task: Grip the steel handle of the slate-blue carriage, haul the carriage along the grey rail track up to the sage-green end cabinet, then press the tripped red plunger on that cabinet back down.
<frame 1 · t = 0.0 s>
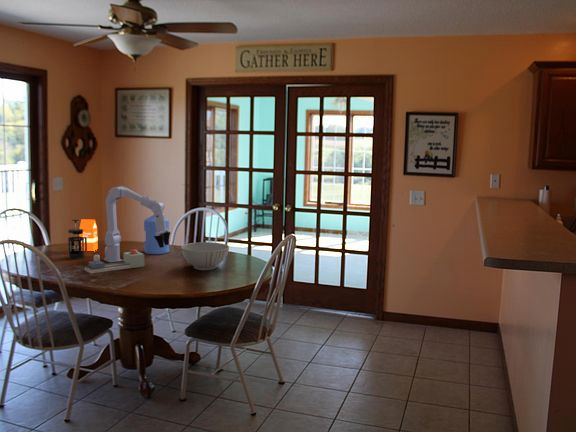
hand: (164, 246, 324), 11 cm above the table, tool pointing down, fingers open, 7 cm apart
orange juice: (88, 250, 358), on the table
french press: (77, 257, 337), on the table
reset plunger: (133, 253, 319), point 7 cm above the table, slide at 0.0 cm
track: (116, 267, 314), on the table
carriage: (96, 260, 306), point 6 cm above the table, slide at 0.0 cm
water jug: (156, 252, 358), on the table
decorative bowl: (205, 267, 319), on the table
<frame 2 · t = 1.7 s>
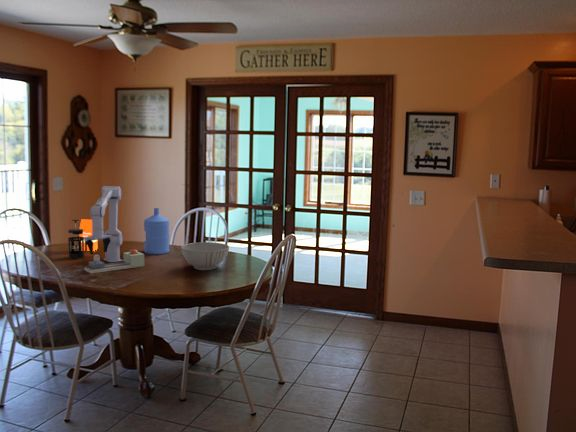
hand: (98, 252, 305), 10 cm above the table, tool pointing down, fingers open, 7 cm apart
nothing on the table moved.
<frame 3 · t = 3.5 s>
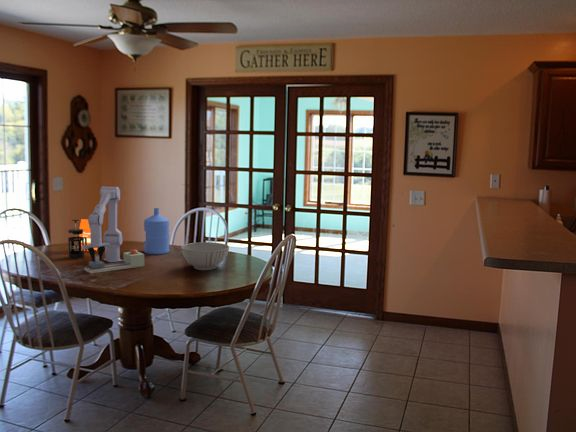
hand: (96, 260, 306), 5 cm above the table, tool pointing down, fingers closed on carriage, 3 cm apart
carriage: (96, 260, 306), point 6 cm above the table, slide at 0.0 cm, touching gripper
everything else where it was.
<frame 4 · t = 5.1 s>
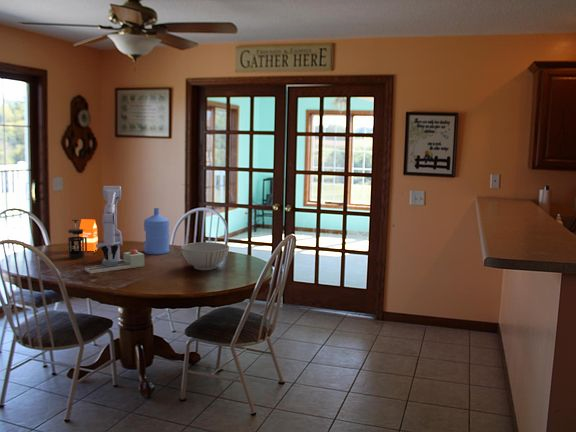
hand: (109, 259, 311), 5 cm above the table, tool pointing down, fingers closed on carriage, 3 cm apart
carriage: (109, 259, 311), point 6 cm above the table, slide at 7.4 cm, touching gripper
everything else where it was.
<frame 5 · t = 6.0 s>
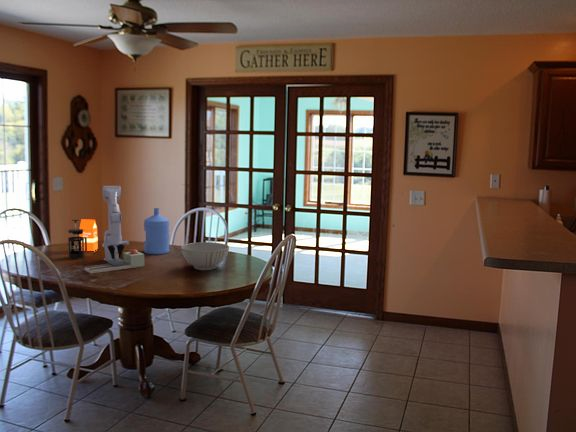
hand: (116, 258, 313), 5 cm above the table, tool pointing down, fingers closed on carriage, 3 cm apart
carriage: (116, 258, 313), point 6 cm above the table, slide at 11.0 cm, touching gripper
everything else where it was.
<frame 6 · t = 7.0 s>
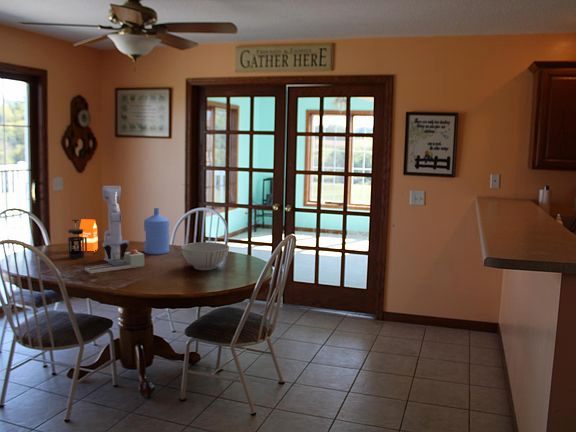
hand: (116, 257, 313), 6 cm above the table, tool pointing down, fingers open, 7 cm apart
carriage: (116, 258, 313), point 6 cm above the table, slide at 11.0 cm
everything else where it was.
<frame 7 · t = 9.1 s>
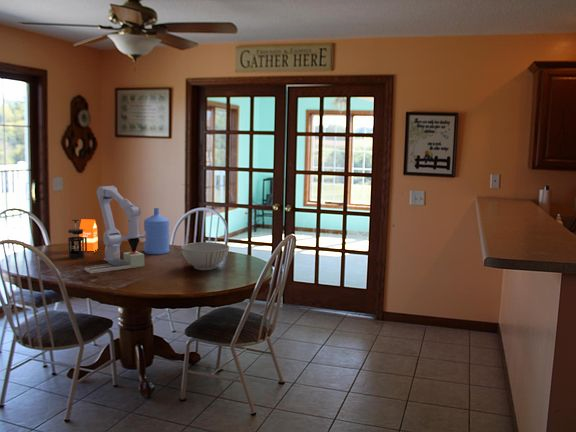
hand: (133, 251, 319), 8 cm above the table, tool pointing down, fingers closed, pressing on reset plunger
reset plunger: (133, 254, 319), point 6 cm above the table, slide at 0.8 cm, touching gripper
everything else where it was.
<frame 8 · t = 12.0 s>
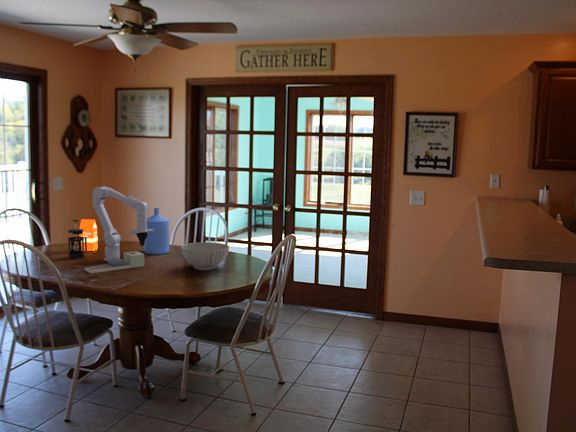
hand: (142, 245, 327), 10 cm above the table, tool pointing down, fingers closed
reset plunger: (133, 256, 320), point 5 cm above the table, slide at 1.7 cm
everything else where it was.
at the end: carriage slide at 11.0 cm; reset plunger slide at 1.7 cm; the gripper is holding nothing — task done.
